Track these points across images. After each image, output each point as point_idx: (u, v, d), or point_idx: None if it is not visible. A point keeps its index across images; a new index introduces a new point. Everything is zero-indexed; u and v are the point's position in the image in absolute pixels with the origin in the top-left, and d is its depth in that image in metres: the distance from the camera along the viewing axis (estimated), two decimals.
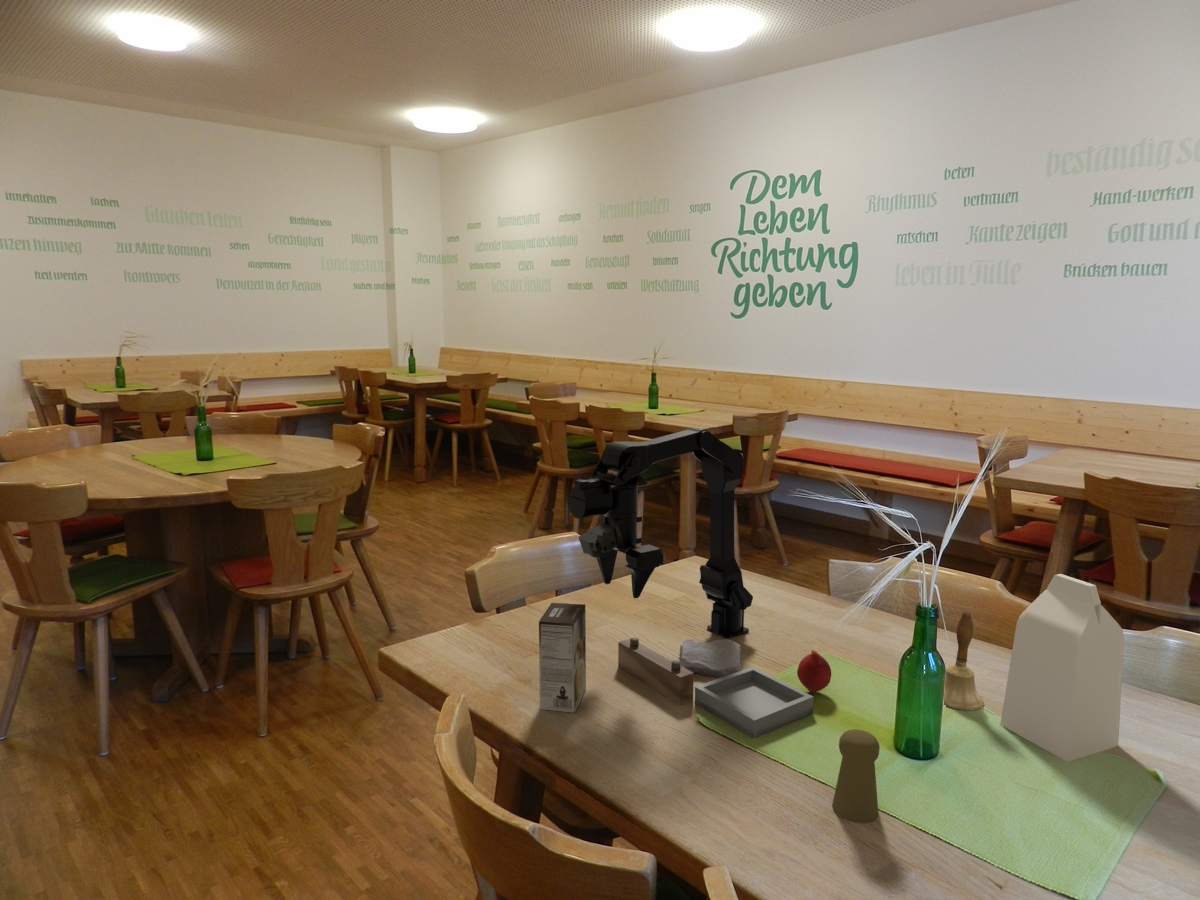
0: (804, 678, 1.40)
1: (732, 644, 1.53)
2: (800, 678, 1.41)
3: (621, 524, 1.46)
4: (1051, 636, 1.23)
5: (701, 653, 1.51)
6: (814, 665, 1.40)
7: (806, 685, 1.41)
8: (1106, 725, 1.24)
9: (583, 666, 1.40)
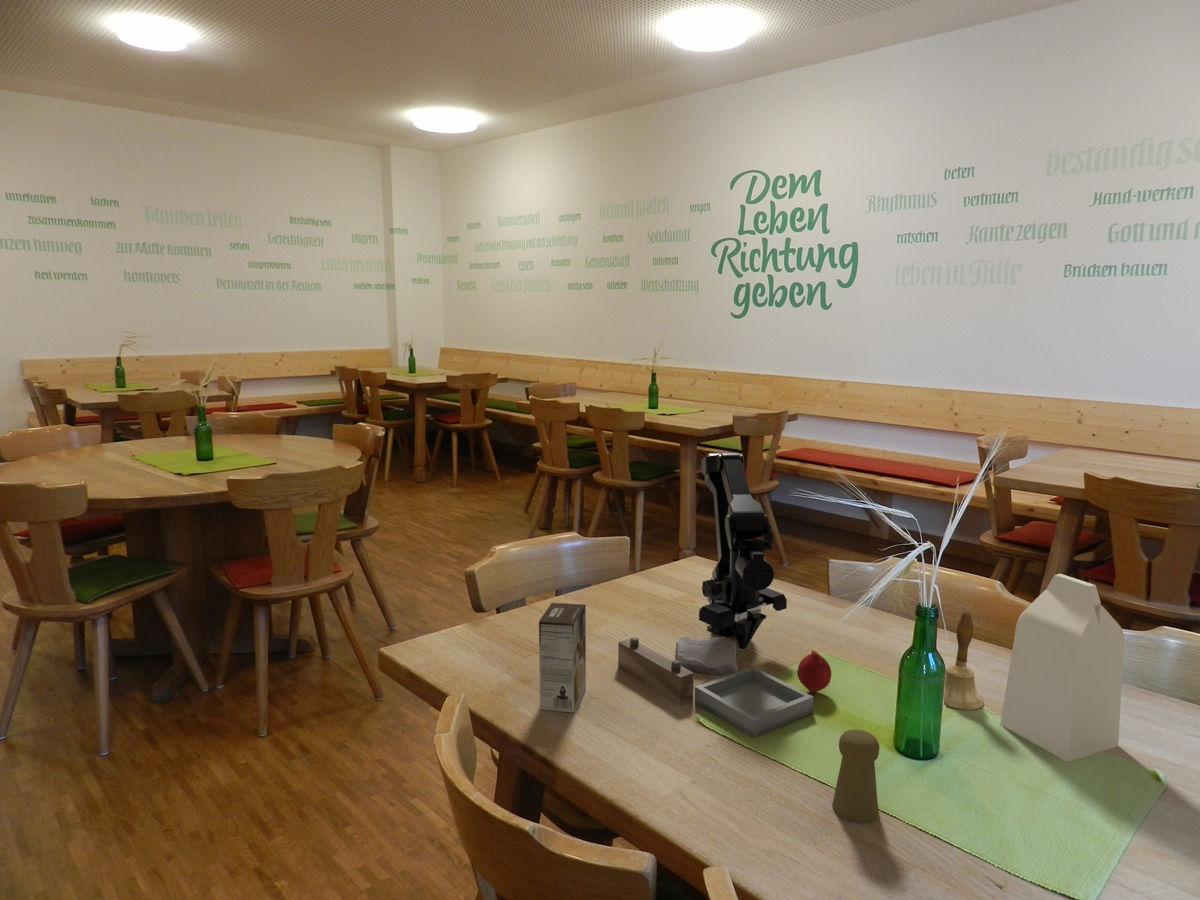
0: (804, 678, 1.40)
1: (728, 641, 1.54)
2: (800, 678, 1.41)
3: (728, 581, 1.55)
4: (1051, 635, 1.23)
5: (697, 651, 1.52)
6: (814, 665, 1.40)
7: (806, 685, 1.41)
8: (1106, 725, 1.24)
9: (583, 666, 1.40)
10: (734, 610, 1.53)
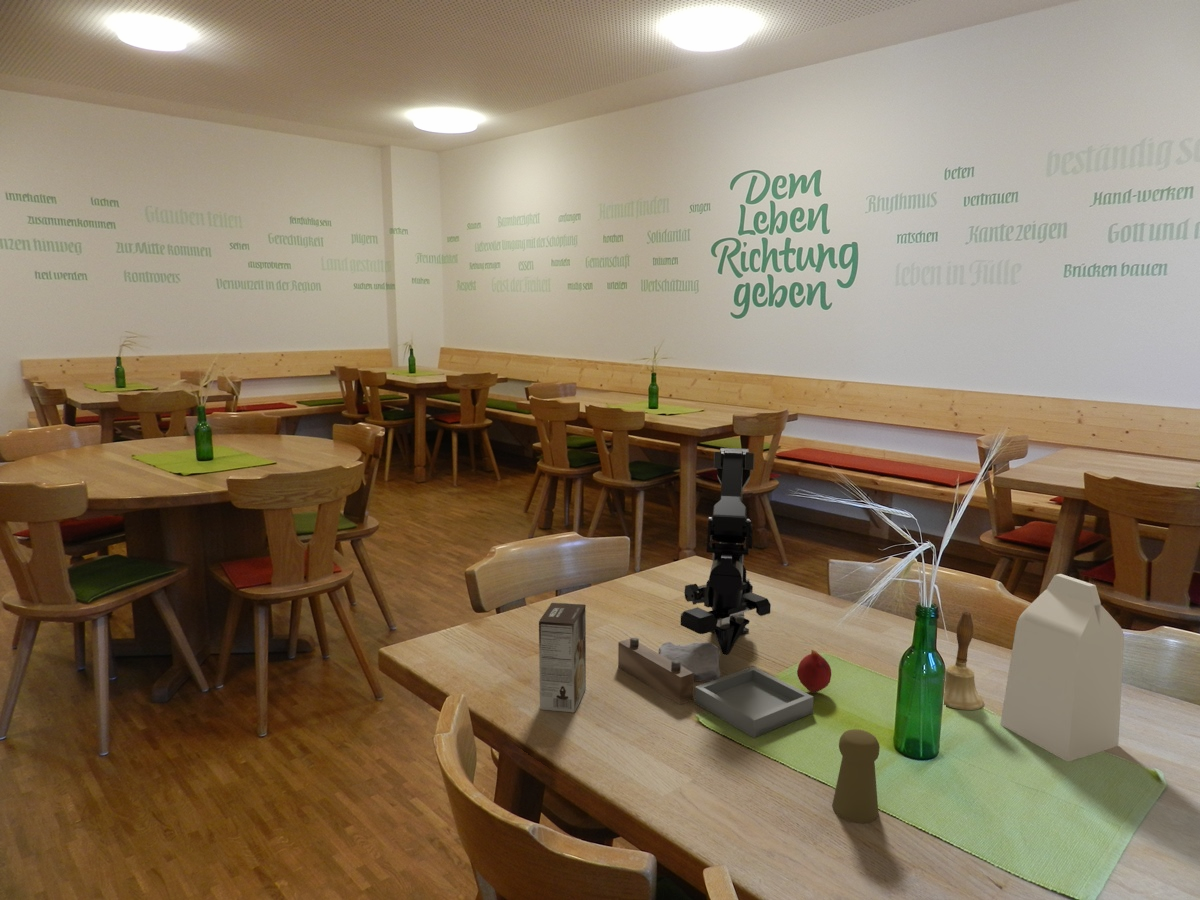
0: (804, 678, 1.40)
1: (710, 647, 1.52)
2: (800, 678, 1.41)
3: (711, 586, 1.52)
4: (1051, 635, 1.23)
5: (679, 657, 1.50)
6: (814, 665, 1.40)
7: (806, 685, 1.41)
8: (1106, 725, 1.24)
9: (583, 666, 1.40)
10: (716, 615, 1.51)
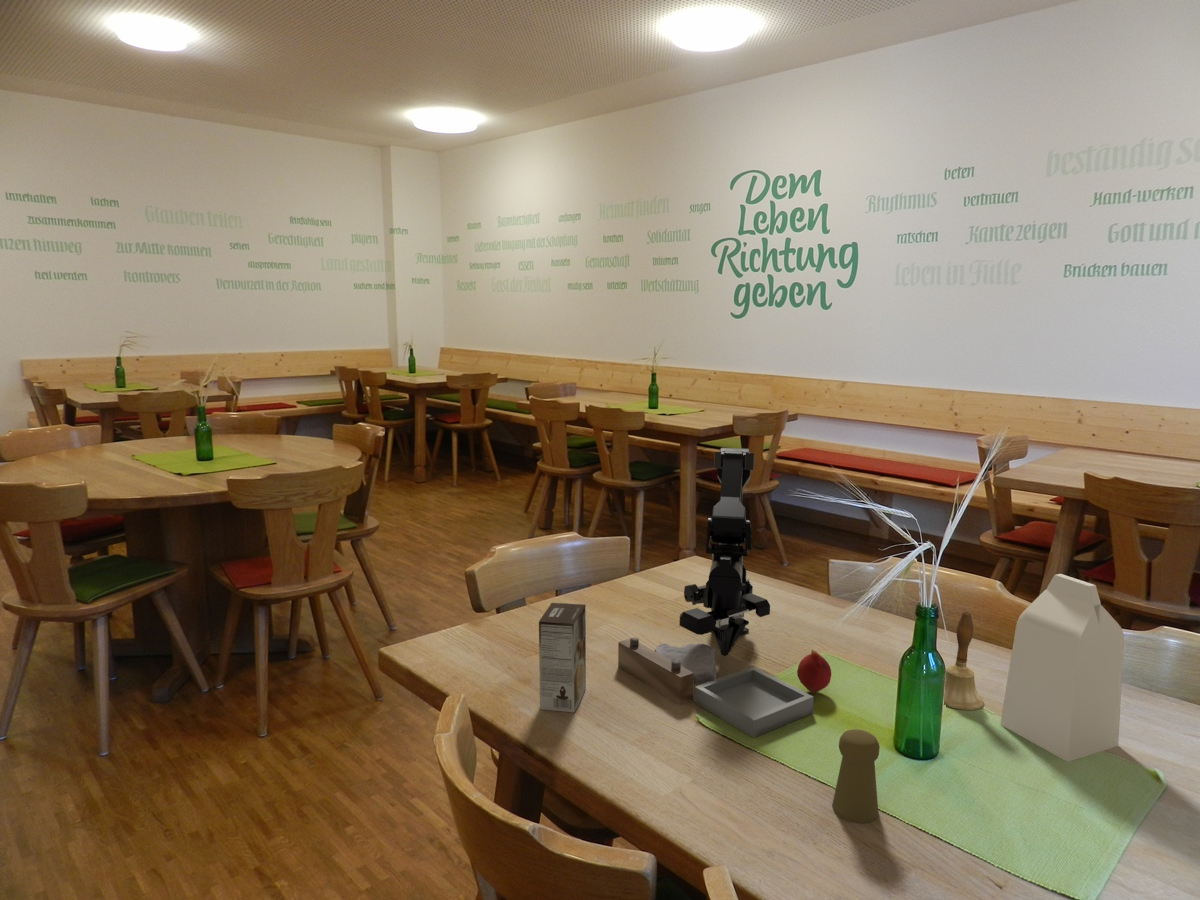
0: (804, 678, 1.40)
1: (706, 648, 1.51)
2: (800, 678, 1.41)
3: None
4: (1051, 635, 1.23)
5: (675, 658, 1.49)
6: (814, 665, 1.40)
7: (806, 685, 1.41)
8: (1106, 725, 1.24)
9: (583, 666, 1.40)
10: (715, 616, 1.51)
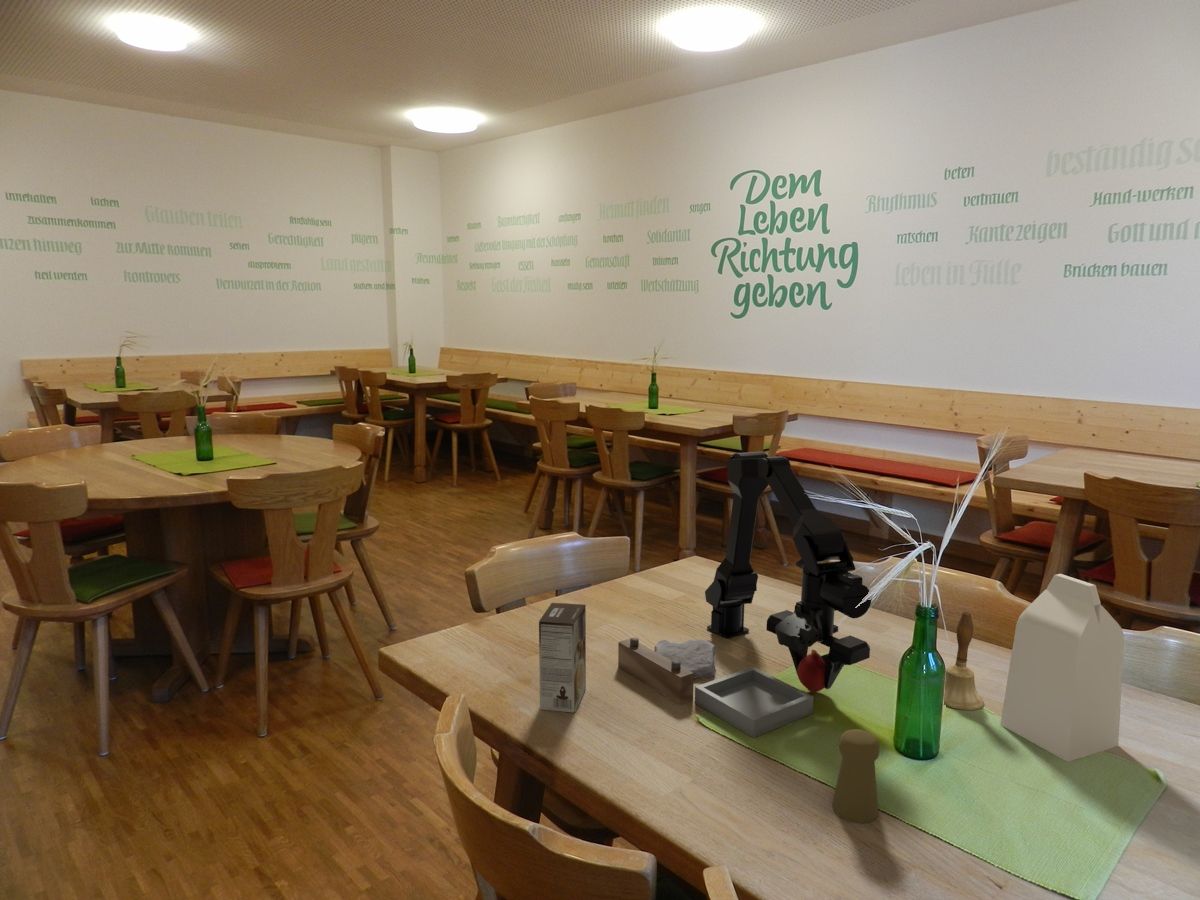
0: (804, 678, 1.40)
1: (706, 644, 1.53)
2: (800, 678, 1.41)
3: (821, 614, 1.37)
4: (1051, 635, 1.23)
5: (675, 654, 1.51)
6: (814, 665, 1.40)
7: (806, 685, 1.41)
8: (1106, 725, 1.24)
9: (583, 666, 1.40)
10: None
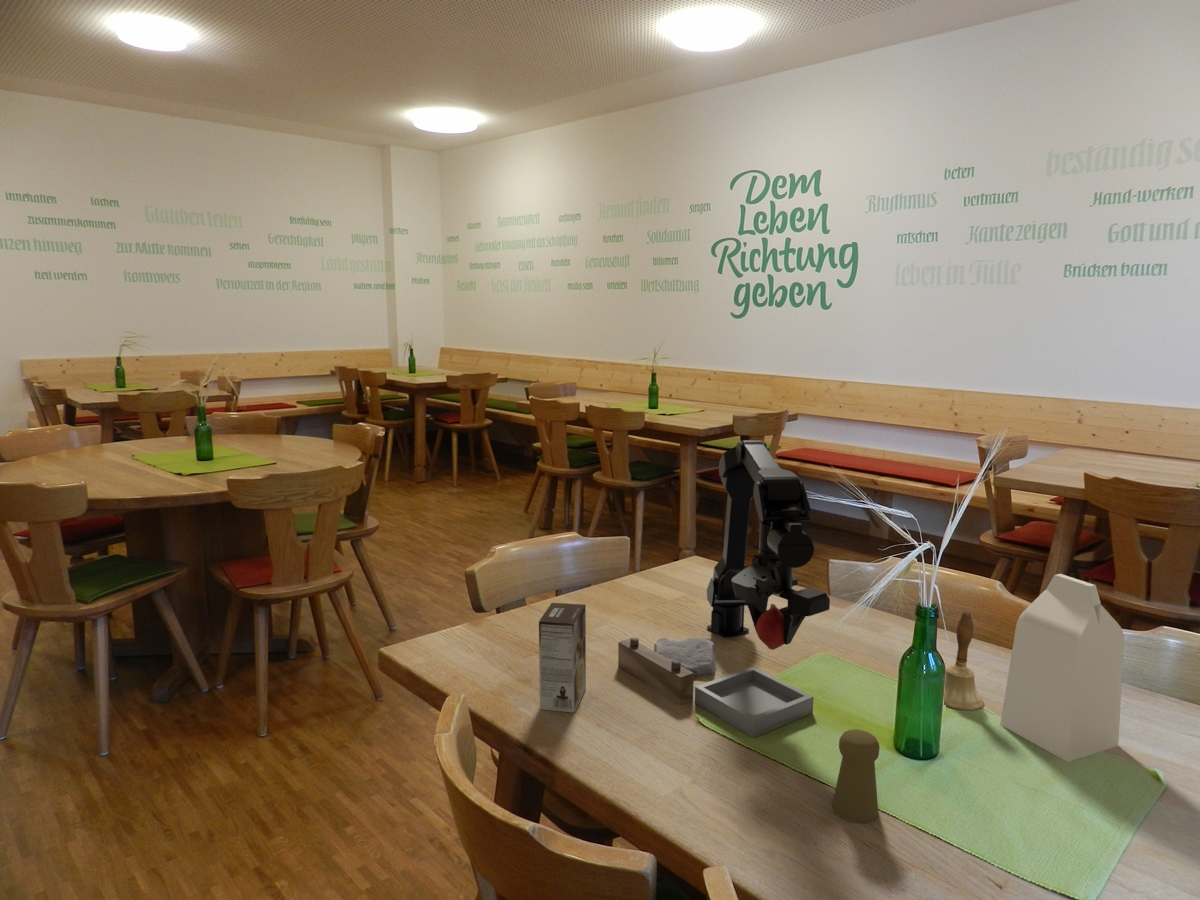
0: (762, 633, 1.34)
1: (706, 642, 1.54)
2: (759, 634, 1.35)
3: (779, 565, 1.31)
4: (1051, 636, 1.23)
5: (675, 652, 1.52)
6: (773, 619, 1.33)
7: (765, 641, 1.34)
8: (1106, 725, 1.24)
9: (583, 666, 1.40)
10: None
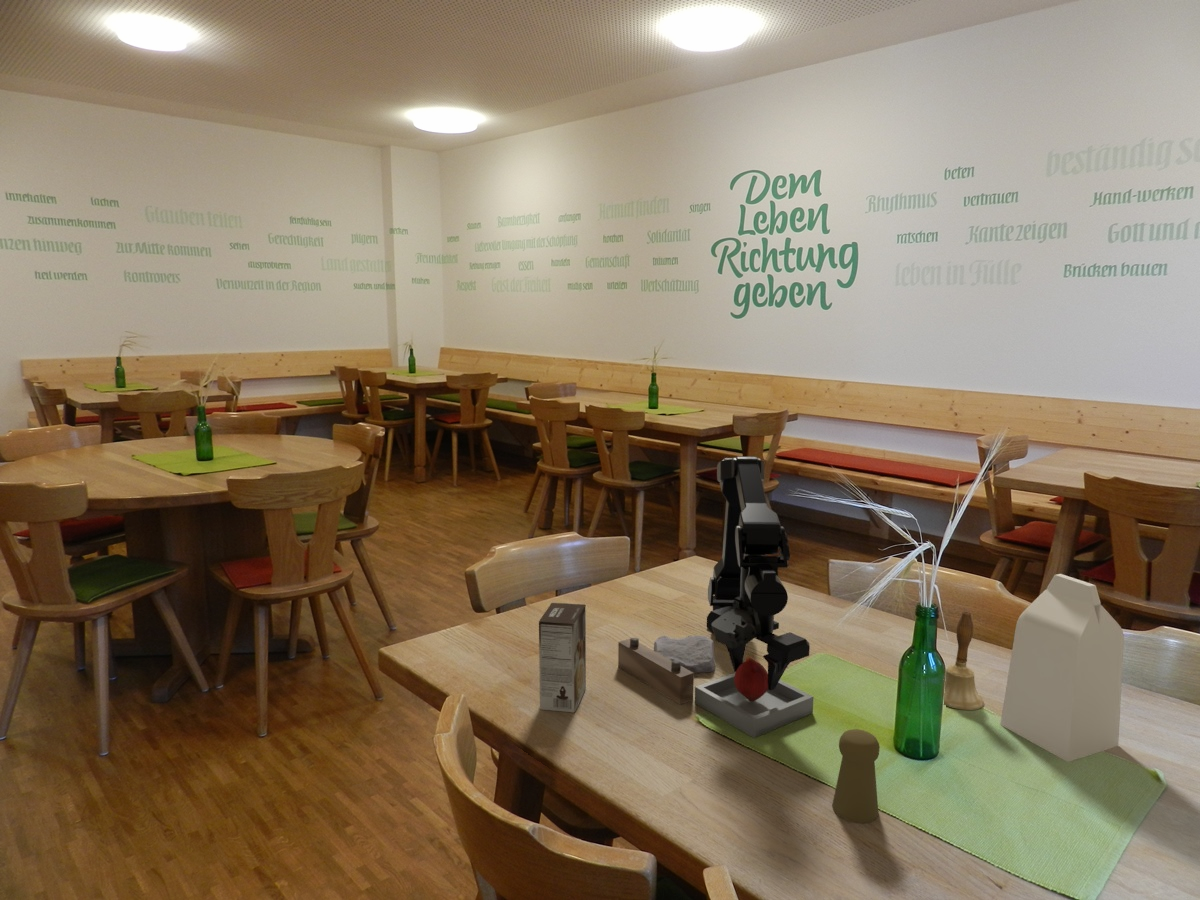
0: (740, 685, 1.35)
1: (705, 640, 1.55)
2: (737, 686, 1.36)
3: None
4: (1051, 636, 1.23)
5: (675, 650, 1.53)
6: (749, 670, 1.34)
7: (743, 693, 1.35)
8: (1106, 725, 1.24)
9: (583, 666, 1.40)
10: None
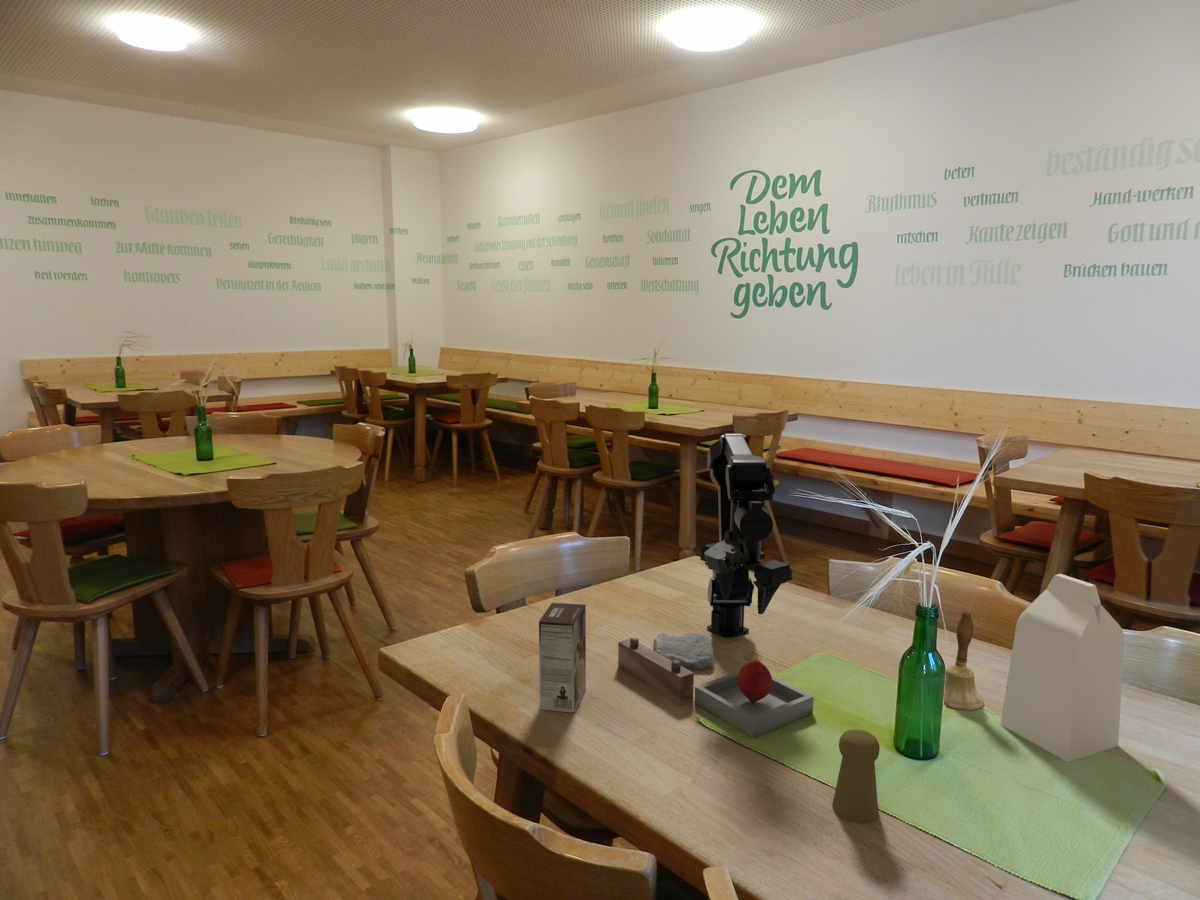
0: (744, 686, 1.34)
1: (705, 637, 1.57)
2: (740, 687, 1.35)
3: (747, 540, 1.46)
4: (1051, 636, 1.23)
5: (675, 647, 1.54)
6: (755, 672, 1.34)
7: (747, 694, 1.35)
8: (1106, 725, 1.24)
9: (583, 666, 1.40)
10: None
